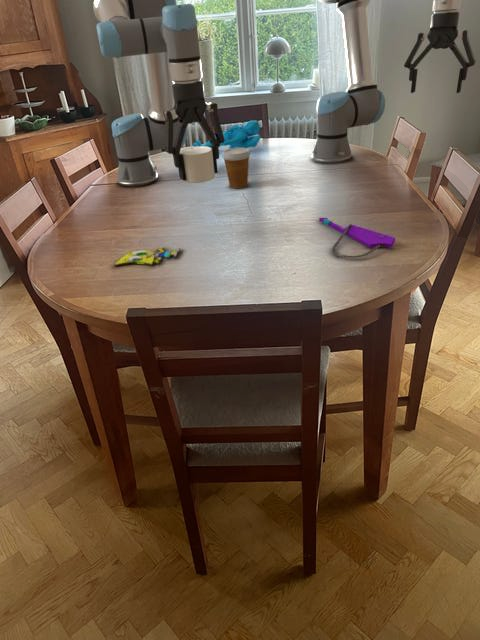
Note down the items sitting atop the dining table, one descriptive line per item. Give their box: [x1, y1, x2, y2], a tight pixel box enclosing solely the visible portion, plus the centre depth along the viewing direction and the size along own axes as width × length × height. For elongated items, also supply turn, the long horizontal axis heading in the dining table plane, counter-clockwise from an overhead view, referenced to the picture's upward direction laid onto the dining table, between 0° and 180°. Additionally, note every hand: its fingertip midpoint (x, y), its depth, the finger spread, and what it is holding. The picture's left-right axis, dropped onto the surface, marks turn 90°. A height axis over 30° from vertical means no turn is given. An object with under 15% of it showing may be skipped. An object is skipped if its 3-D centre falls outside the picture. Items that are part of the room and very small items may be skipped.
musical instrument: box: [318, 217, 396, 259], centre depth 123 cm, size 24×2×20 cm
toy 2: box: [114, 247, 181, 267], centre depth 124 cm, size 10×1×15 cm
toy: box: [192, 120, 261, 149], centre depth 208 cm, size 17×11×30 cm
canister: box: [180, 146, 216, 184], centre depth 126 cm, size 8×8×7 cm
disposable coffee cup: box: [222, 148, 251, 189], centre depth 166 cm, size 10×10×12 cm
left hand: (198, 175), depth 127 cm, fingers closed on canister, 8 cm apart
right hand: (435, 92), depth 150 cm, fingers open, 13 cm apart
